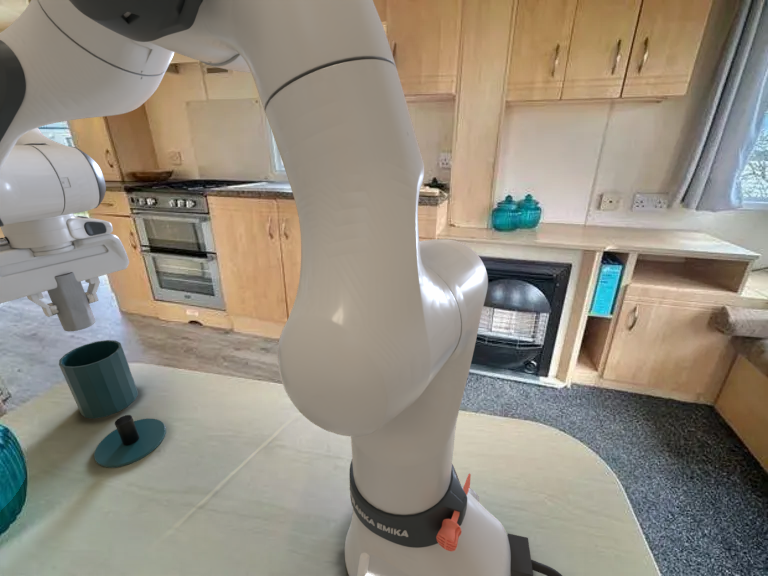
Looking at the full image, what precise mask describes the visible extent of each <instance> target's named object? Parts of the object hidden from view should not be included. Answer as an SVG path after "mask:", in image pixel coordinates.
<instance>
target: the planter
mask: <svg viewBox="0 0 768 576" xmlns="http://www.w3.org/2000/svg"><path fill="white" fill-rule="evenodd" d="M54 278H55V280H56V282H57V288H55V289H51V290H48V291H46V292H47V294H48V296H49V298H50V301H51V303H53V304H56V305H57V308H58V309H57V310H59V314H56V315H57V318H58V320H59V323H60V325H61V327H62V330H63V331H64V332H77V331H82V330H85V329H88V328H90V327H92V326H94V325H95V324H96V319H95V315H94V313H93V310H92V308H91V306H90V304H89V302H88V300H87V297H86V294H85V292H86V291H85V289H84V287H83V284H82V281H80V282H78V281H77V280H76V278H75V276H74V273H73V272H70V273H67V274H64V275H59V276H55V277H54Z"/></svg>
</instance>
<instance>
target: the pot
mask: <svg viewBox="0 0 768 576" xmlns="http://www.w3.org/2000/svg"><path fill="white" fill-rule="evenodd" d="M58 366H59V368H60V371H61V372H62V375H63V377H64V379H65V381H66V384H67V386H68V389H69V391H70V393H71V395H72V398H73V400H74V402H75V404H76V406H77V408H78V410H79V413H80V415H81V416H83V417H84V418H85V419H100V418H105V417H109V416H111V415H115V414H117V413H119V412H120V411H122V410H124V409H126V408H128V407H129V406H130V405H131V404H132V403H134V401H136V399H137V397H138V396H139V392H138V388H137V385H136V383H135V382H136V381H135V379H134V377H133V374H132V370H131V368H130V365H129V363H128V359H127V357H126V354H125V351H124V348H123V345H122V343H121V342H119V340H118V341H117V340H113V339H112V340H111V339H106V340H97V341H93V342H89V343H86V344H83V345H81V346H78V347H75V348H73V349H71V350H70V351H68V352H67V353H64V354H63V356H61V357H60V358H59V361H58Z"/></svg>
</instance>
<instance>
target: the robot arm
mask: <svg viewBox="0 0 768 576" xmlns="http://www.w3.org/2000/svg"><path fill="white" fill-rule="evenodd" d="M175 54H179V55H180V56H181V55H182V56H184V57H186V58H190V59H192V60H196V61H199V62H201V63H202V64H204V65H207V66H211V67H214V68H220V69H224V70H228V71H234V72H239V73H240V72H241V73H250V74H251V75H252V78H253V82H254V84H255V87H256V90H257V93H258V96H259V100H260V102H261V105H262V108H263V111H264V114H265V117H266V119H267V121H268V124H269V127H270V130H271V133H272V136H273V138H274V141H275V144H276V148H277V150H278V152H279V156H280V158H281V161H282V164H283V168H284V171H285V173H286V176H287V180H288V183H289V186H290V190H291V192H292V195H293V199H294V203H295V207H296V212H297V216H298V223H299V233H300V271H299V278H298V284H297V285H298V286H297V291H296V294H295V299H294V302H293V305H292V307H291V310H290V313H289V315H288V318H287V320H286V322H285V324H284V326H283V327H282V330H281V332H280V335H279V338H278V344H277V367H278V372H279V377H280V380H281V384H282V386H283V389H284V391H285V393H286V395H287V397H288V398H289V400H290V401H291V403H292V405H293V406H294V407H295V408H296V409H297V410H298V412H299V413H300V414H301V415H302V416H303V417H304V418H305V419H306V420H308V421H309V422H311V423H312V424H314V425H315V426H317V427H319V428H320V429H322V430H324V431H327V432H330V433H332V434H335V435H339V436H343V437H350V445H351V446H350V447H351V461H350V464H349V497H350V502H351V506H352V517H351V521H350V525H349V527H348V530H347V532H346V536H345V542H344V561H345V567H346V571H347V574H348V576H534V572H536V573H539V574H542V575H545V576H563V575H562V574H561V573H560V572H559V571H557V570H556V569H555V568H553V567H551V566H549V565H547V564H544V563H542V562H539V561H537V560H533V559H532V557H531V550H530V549H531V548H530V542H529V537H526V536H522V535H517V534H512V533H508V532H507V531H506V529H505V527H504V525H503V524H502V523H501V521H500V520H499V519H498V518H496V517H495V515H493V514H492V513H491V512H490V511H489V510H488V509H487V508H486V507H484V505H482V504H481V503H480V496H479V495H478V494H477V492H476V491H475V490H474V489H472V488H471V473H468V475H467V477H466V480H465V482H464V485H463V486H462V484H461V481H460V478H459V477H458V476H459V475H458V473H457V471H456V468H455V466H454V464H453V458H454V449H455V441H456V440H455V439H456V431H457V430H456V429H457V423H458V418H459V413H460V409H461V406H462V401H463V398H464V394H465V391H466V386H467V383H468V378H469V374H470V369H471V365H472V361H473V356H474V352H475V347H476V342H477V337H478V333H479V328H480V322H481V318H482V313H483V308H484V306H485V303H486V298H487V293H488V289H489V276H488V272H487V269H486V266H485V264H484V262H483V260H482V259H481V257H480V256H479V255H478V253H477V252H476V251H475V250H474V249H472V248H471V247H470V246H468V245H467V244H466V243H463V242H461V241H459V240H456V239H455V240H454V239H451V238H450V239H449V238H441V239H440V238H438V239H437V238H436V239H429V240H428V239H427V240H426V239H425V240H420V231H419V199H420V193H421V188H422V186H423V182H424V177H425V164H424V163H425V162H424V158H423V155H422V151H421V148H420V145H419V142H418V141H419V140H418V138H417V134H416V131H415V130H416V129H415V127H414V123H413V120H412V116H411V114H410V109H409V106H408V102H407V99H406V96H405V92H404V88H403V85H402V82H401V79H400V75H399V71H398V68H397V65H396V61H395V59H394V55H393V52H392V49H391V44H390V42H389V39H388V36H387V34H386V31H385V28H384V25H383V23H382V20H381V17H380V15H379V12H378V9H377V7H376V5H375V2H374V0H30V1H29V3H28V5H27V6H26V8H25V9H24V10H23V12H22V13H21V14H20V15H19V16H18V18H16V19H15V20H14V21H13V22H12V23H11V24H10V25H9V26H8V27H6V28H5V29H4V30H2V31H0V229H1V232H2V234H3V236H4V237H0V304H4V303H7V302H12V301H15V300H18V299H22V298H27V300H29V301H30V302H32V303H34V304H36V305H38V306H39V307H41V309H42V312H43V314H44V315H45V316H46V317H48V318H50V317H53V316H56V315H57V314H59V310H57V309H58V308H57V305H56V304H53V303H52V302H49V303H46V302H44V301H43V300H42V299H44V298H45V297H44V295H43V292H44V293H45V292H47V291H48V290H51V289H55V288H57V282H56V280H55V278H54V277H55V276H59V275H64V274H67V273H70V272H73V273H74V276H75V278H76V280H77V281H78V282H80V281H81V282H84V281H85V283H88V286H87V290H86V291H84V292H85V294H86V297H87V300H88V302H89V305H90V304H93V303H96V302H99V297H98V295H97V292H98V289H99V287H100V283H101V281H100V278H99V277H102V276H105V275H109V274H113V273H117V272H120V271H123V270H126V269H128V267H129V265H130V259H129V256H128V253H127V251H126V249H125V246H124V244H123V242H122V240H121V238H119V236H117V235H116V234H113V231H114V227H113V224H112V223H111V222H110V221H109V220H108V221H107V220H104V219H100V218H94V217H87V216H84V215H83V216H82V215H78V216H76V215H74V214H79V213H85V212H88V211H91V210H93V209H97V208H98V207H99V206H100V205H101V204H102V203H103V200H104V198H105V197H106V196H105V195H106V193H107V192H106V191H107V185H106V181H105V180H106V179H105V177H104V174H103V172H102V169H101V167H100V166H99V164H98V163H97V162H96V161H95V160H94V158H92V157H91V156H90V155H89V154H88V153H86V152H84V151H83V150H81V149H80V148H78V147H76V146H69V145H65V144H63V143H60V142H58V141H55V140H52V139H50V138H48V137H47V136H45V135H44V134H43V133H42V131H41V130H40V129H39V128H40V127H41V128H42V127H44V126H48V125H52V124H57V123H62V122H68V121H75V120H83V119H91V118H92V119H93V118H101V117H111V116H119V115H123V114H124V115H125V114H127V113H130V112H132V111H134V110H136V109H138V108H140V107H142V105H143V104H145V102H147V101H148V100H149V99H150V98H151V97H152V96H153V94H154V93H155V92H156V91H157V89H158V88H159V86H160V84H161V82H162V81H163V78H164V76H165V74H166V72H167V70H168V68H169V66H170V65H171V62H172V59H173V57H174V55H175Z"/></svg>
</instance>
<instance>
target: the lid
mask: <svg viewBox="0 0 768 576" xmlns="http://www.w3.org/2000/svg"><path fill="white" fill-rule="evenodd" d="M114 426H115V428H116V429H114V430H113V431H111V432H110V433H109V434H107V435H106V436H104V438H103V439H101V440H100V442H99V443H98V445H97V446H96V448H95V451H94V453H93V457H94V460H95V462H96V464H97V465H99V466H100V467H103V468H110V469H112V468H121V467H124V466H127V465H130V464H133V463H135V462H138V461H139V460H141V459H143V458H145V457H146V456H149V454H151V453H152V452H154V450H156V449H157V448H158V447H159V446H160V445H161V443H162V442H163V441H164V439H165V437H166V434H167V427H166V425H165V424H164V422H162V420H159V419H157V418H141V419H136V420H134V418H133V416H132V415H131V414H125V415H121V416H120V417H118V418H117V419H116V420H115V421H114Z"/></svg>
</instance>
